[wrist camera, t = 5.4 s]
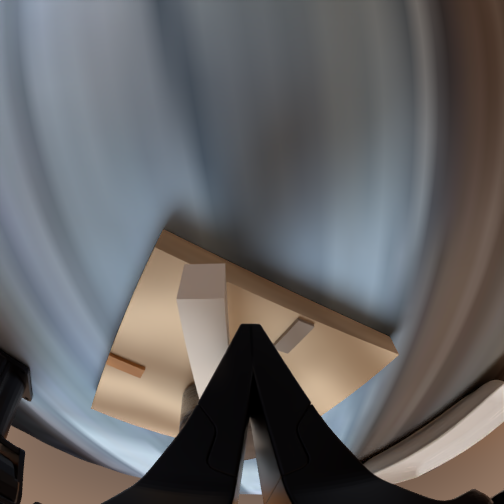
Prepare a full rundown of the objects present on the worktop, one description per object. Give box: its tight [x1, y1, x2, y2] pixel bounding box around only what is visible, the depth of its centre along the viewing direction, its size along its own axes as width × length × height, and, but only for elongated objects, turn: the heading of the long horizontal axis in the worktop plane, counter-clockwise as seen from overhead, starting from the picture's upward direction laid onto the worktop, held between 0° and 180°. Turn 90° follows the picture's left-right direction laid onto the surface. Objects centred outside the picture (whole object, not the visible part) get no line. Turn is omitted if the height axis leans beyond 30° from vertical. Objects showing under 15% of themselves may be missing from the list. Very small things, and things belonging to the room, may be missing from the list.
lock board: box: [91, 229, 399, 437], centre depth 16 cm, size 15×14×2 cm
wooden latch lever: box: [176, 263, 256, 460], centre depth 12 cm, size 13×5×3 cm, turn 0°
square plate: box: [363, 380, 504, 484], centre depth 29 cm, size 27×27×4 cm
